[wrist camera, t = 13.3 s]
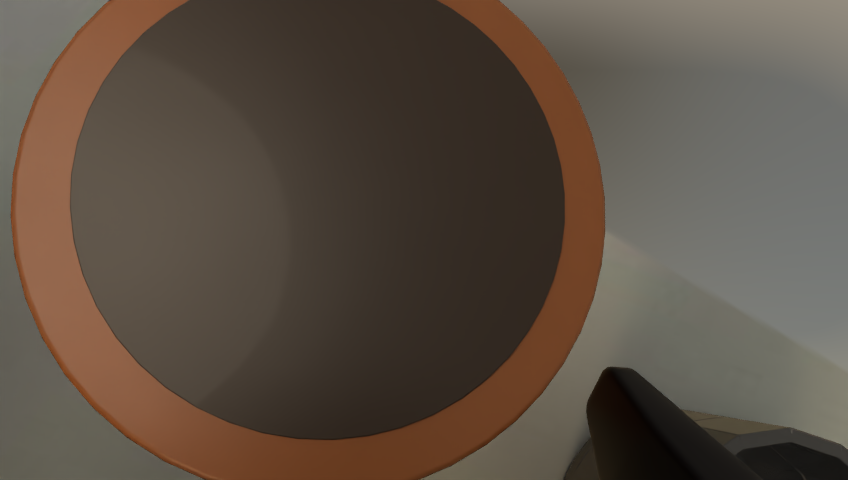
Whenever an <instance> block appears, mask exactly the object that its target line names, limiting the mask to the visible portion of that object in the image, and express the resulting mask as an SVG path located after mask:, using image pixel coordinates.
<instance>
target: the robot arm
mask: <svg viewBox="0 0 848 480" xmlns="http://www.w3.org/2000/svg"><path fill="white" fill-rule="evenodd" d="M586 413H587V420H588V425H589V430H590V435H591V440H592V445H593V450H594V455H595V460H596V465H597V470H598V475H599V480H763V479H762V478H761V477H759V476H758V475H757V474H756V473H755V472H754V471H752V470H751V469H750V468H749V467H748V466H746V465H745V464H744V463H743V462H742V461H741V460H739V459H738V458H737V457H736V456H735V455H734V454H732V453H731V452H730V451H729V450H728V449H727V448H725V447H724V446H723V445H722V444H721V443H719V442H718V441H717V440H716V439H715V438H714V437H712V436H711V435H710V434H709V433H708V432H707V431H705V430H704V429H703V428H702V427H701V426H699V425H698V424H697V423H696V422H695V421H694V420H692V419H691V418H690V417H689V416H688V415H687V414H685V413H684V412H683V411H682V410H681V409H679V408H678V407H677V406H676V405H675V404H674V403H672V402H671V401H670V400H669V399H668V398H667V397H665V396H664V395H663V394H662V393H661V392H660V391H658V390H657V389H656V388H655V387H654V386H652V385H651V384H650V383H649V382H648V381H647V380H645V379H644V378H643V377H642V376H641V375H640V374H638V373H637V372H636V371H634V370H633V369H630V368H623V367H607V368H606V369H604V370H603V372H602V373H601V375H600V377H599V379H598V381H597V383H596V385H595V387H594V389H593V391H592V393H591V395H590V397H589V399H588V402H587V408H586Z"/></svg>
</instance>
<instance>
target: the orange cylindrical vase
mask: <svg viewBox="0 0 848 480" xmlns="http://www.w3.org/2000/svg"><path fill="white" fill-rule="evenodd" d="M11 223H12V234H13V244H14V255H15V260H16V264H17V268H18V271H19V275H20V279H21V283H22V287H23V291H24V295H25V299H26V301H27V304H28V306H29V308H30V311H31V313H32V315H33V318H34V320H35V322H36V325H37V327H38V329H39V332H40V334H41V336H42V339H43V340H44V342H45V343H46V345H47V347H48V348H49V350H50V351H51V353H52V355H53V356H54V358H55V359H56V361H57V363H58V364H59V366H60V368H61V369H62V371H63V372H64V374H65V375H66V377H67V378H68V379H69V380H70V381H71V382H72V384H73V385H74V386H75V387H76V388H77V390H78V391H79V392H80V393H81V394H82V395H83V397H84V398H85V399H86V400H87V401H88V402H89V404H90V405H91V406H92V407H93V408H94V409H95V410H96V411H97V412H98V413H99V414H101V415H102V416H103V417H104V418H105V419H106V420H108V421H109V422H110V423H111V424H112V425H113V426H114V427H116V428H117V429H118V430H119V431H120V432H121V433H122V434H124V435H125V436H126V437H127V438H129V439H130V440H132V441H133V442H135V443H136V444H138V445H140V446H141V447H143V448H144V449H146V450H147V451H149V452H151V453H152V454H154V455H155V456H157V457H158V458H160V459H161V460H163V461H165V462H167V463H169V464H171V465H174V466H176V467H178V468H180V469H182V470H185V471H187V472H189V473H191V474H193V475H196V476H198V477H200V478H202V479H204V480H419V479H422V478H424V477H426V476H429V475H431V474H433V473H436V472H438V471H440V470H443V469H445V468H447V467H450V466H452V465H454V464H455V463H457V462H459V461H460V460H462V459H464V458H465V457H467V456H469V455H470V454H472V453H474V452H475V451H477V450H479V449H480V448H482V447H484V446H485V445H487V444H488V443H489V442H490V441H492V440H493V439H494V438H495V437H497V436H498V435H499V434H500V433H502V432H503V431H504V430H505V429H507V428H508V427H509V426H510V425H512V424H513V423H514V422H515V421H516V420H517V419H518V418H519V417H520V416H521V415H522V414H523V413H524V412H525V411H526V410H527V409H528V408H529V407H530V406H531V405H532V404H533V403H534V401H535V400H536V399H537V398H538V397H539V396H540V395H541V394H542V393H543V391H544V390H545V389H546V387H547V386H548V385H549V383H550V382H551V380H552V379H553V378H554V376H555V375H556V374H557V372H558V371H559V369H560V368H561V367H562V365H563V364H564V362H565V360H566V358H567V356H568V354H569V353H570V351H571V349H572V347H573V345H574V343H575V342H576V340H577V338H578V336H579V334H580V332H581V330H582V327H583V325H584V322H585V319H586V317H587V314H588V312H589V309H590V306H591V304H592V301H593V298H594V294H595V290H596V286H597V282H598V278H599V273H600V269H601V265H602V256H603V247H604V237H605V197H604V190H603V184H602V176H601V169H600V164H599V159H598V156H597V152H596V148H595V145H594V141H593V137H592V134H591V131H590V128H589V126H588V123H587V121H586V118H585V116H584V113H583V111H582V108H581V106H580V103H579V101H578V100H577V97H576V96H575V94H574V92H573V90H572V88H571V86H570V84H569V83H568V81H567V79H566V77H565V75H564V73H563V72H562V71H561V69H560V68H559V66H558V65H557V63H556V62H555V61H554V59H553V58H552V57H551V55H550V53H549V52H548V51H547V49H546V48H545V46H544V45H543V44H542V43H541V42H540V41H539V40H538V38H537V37H536V36H535V35H534V34H533V33H532V32H531V31H530V30H529V28H528V27H527V26H526V25H525V24H524V23H523V22H522V21H521V20H520V19H519V18H518V17H517V16H516V15H514V13H512V12H511V11H510V10H509V9H508V8H507V7H506V6H505V5H504V4H502V3H501V2H500V1H499V0H110V1H109V2H107V3H106V4H105V5H104V6H103V7H102V8H101V9H100V10H99V11H98V12H97V13H96V14H95V15H94V16H93V17H92V18H91V19H90V20H89V21H88V22H87V23H86V24H85V25H84V26H83V27H82V28H81V29H80V30H79V31H78V32H77V33H76V34H75V36H74V37H73V38H72V40H71V41H70V42H69V44H68V45H67V46H66V48H65V49H64V50H63V52H62V53H61V54H60V56H59V57H58V58H57V60H56V61H55V62H54V64H53V66H52V68H51V69H50V71H49V73H48V75H47V77H46V79H45V80H44V82H43V84H42V86H41V88H40V89H39V91H38V93H37V95H36V97H35V99H34V102H33V105H32V107H31V110H30V113H29V115H28V118H27V121H26V123H25V126H24V129H23V131H22V134H21V138H20V143H19V148H18V153H17V157H16V162H15V167H14V172H13V183H12V200H11Z"/></svg>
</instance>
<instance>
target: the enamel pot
mask: <svg viewBox="0 0 848 480" xmlns="http://www.w3.org/2000/svg"><path fill="white" fill-rule="evenodd" d="M681 410H682V409H681ZM682 411H683V412H684V413H685V414H687V415H688V416H689V417H690V418H691V419H692V420H694V421H695V422H696V423H697V424H698V425H699V426H701V427H702V428H703V429H704V430H705V431H707V432H708V433H709V434H710V435H711V436H712V437H714V438H715V439H716V440H717V441H718V442H719V443H721V444H722V445H723V446H724V447H725V448H727V449H728V450H729V451H730V452H731V453H732V454H734V455H735V456H736V457H737V458H738V459H739V460H741V461H742V462H743V463H744V464H745V465H746V466H748V467H749V468H750V469H751V470H752V471H754V472H755V473H756V474H757V475H758V476H759V477H761V478H762V479H763V480H848V450H847V449H846V448H845V447H844V446H842V445H841V444H838V443H835V442H832V441H829V440H826V439H823V438H820V437H818V436H815V435H812V434H809V433H806V432H803V431H800V430H797V429H794V428H790V427H784V426H778V425H772V424H766V423H760V422H754V421H748V420H742V419H736V418H730V417H724V416H718V415H712V414H706V413H700V412H694V411H688V410H682ZM564 480H599V475H598V470H597V465H596V460H595V455H594V450H593V445H592V440H591V439H590V440H589V441H588V442H587V443H586V444H585V445H584V446H583V448H582V449H581V450H580V452H579V453H578V454H577V456H576V457H575V459H574V461H573V462H572V464H571V466H570V468H569V470H568V472H567V474H566V477H565V479H564Z"/></svg>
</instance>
